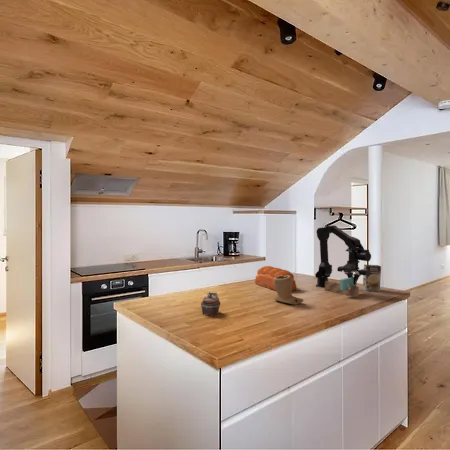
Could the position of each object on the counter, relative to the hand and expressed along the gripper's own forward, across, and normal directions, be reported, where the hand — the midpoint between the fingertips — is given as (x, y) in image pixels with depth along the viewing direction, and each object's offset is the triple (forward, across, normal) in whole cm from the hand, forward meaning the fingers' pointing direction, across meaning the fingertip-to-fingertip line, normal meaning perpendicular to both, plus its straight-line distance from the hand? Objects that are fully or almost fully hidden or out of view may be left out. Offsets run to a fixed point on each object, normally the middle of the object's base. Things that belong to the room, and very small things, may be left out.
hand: (352, 284), depth 213 cm
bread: (+6, -43, -23) cm, 49 cm away
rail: (+6, -5, -5) cm, 9 cm away
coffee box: (+6, +2, +19) cm, 20 cm away
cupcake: (+6, -22, -93) cm, 96 cm away
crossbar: (+2, 0, -5) cm, 5 cm away
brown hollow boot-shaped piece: (+6, -12, -48) cm, 50 cm away
